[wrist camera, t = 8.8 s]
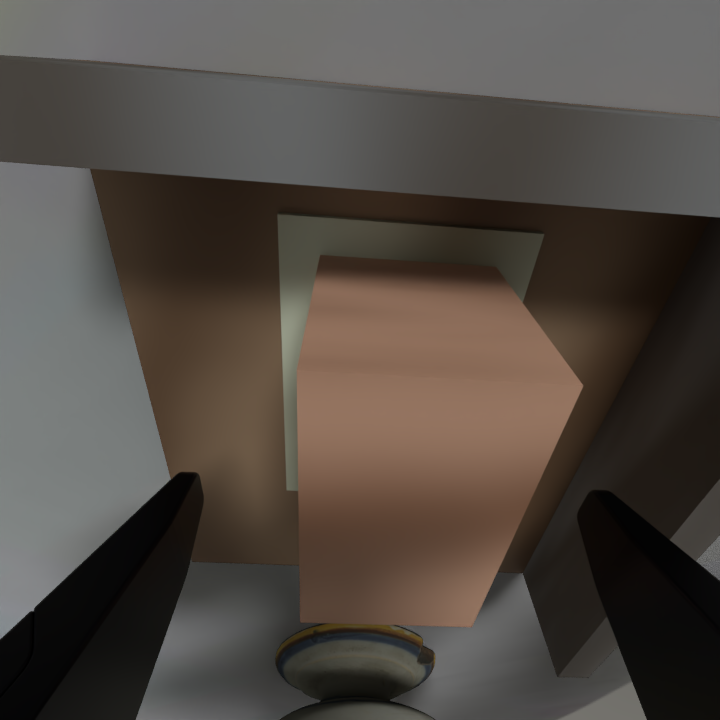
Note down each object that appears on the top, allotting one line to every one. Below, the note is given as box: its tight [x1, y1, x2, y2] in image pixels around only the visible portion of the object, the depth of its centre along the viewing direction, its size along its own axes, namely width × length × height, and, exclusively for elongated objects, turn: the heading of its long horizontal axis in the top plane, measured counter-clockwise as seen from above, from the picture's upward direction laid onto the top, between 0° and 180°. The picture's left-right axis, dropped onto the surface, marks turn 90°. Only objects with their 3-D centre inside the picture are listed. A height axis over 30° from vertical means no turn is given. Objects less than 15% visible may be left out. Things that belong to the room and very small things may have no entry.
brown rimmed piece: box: [0, 55, 720, 678], centre depth 13 cm, size 16×18×5 cm
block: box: [297, 255, 583, 627], centre depth 11 cm, size 8×4×5 cm, turn 176°
